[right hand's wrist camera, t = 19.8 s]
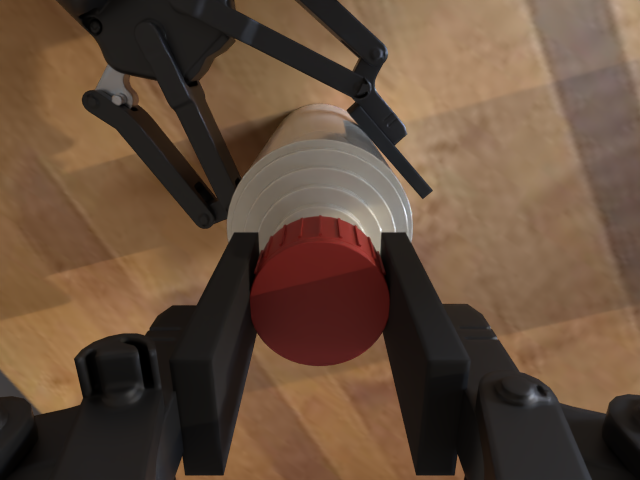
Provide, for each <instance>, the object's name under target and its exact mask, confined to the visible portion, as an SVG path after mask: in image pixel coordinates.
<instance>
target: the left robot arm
mask: <svg viewBox="0 0 640 480" xmlns="http://www.w3.org/2000/svg"><path fill="white" fill-rule="evenodd" d="M56 1H57V2H58V3H59V4H60V5H61V6H62V7H63V8H64V9H65V10H66V11H67V12H68V13H69V14H70V15H71V16H72V17H73V18H74V19H75V20H76V21H77V22H78V23H79V24H80V25H81V26H82V27H83V28H85V29H86V30H87V31H88V32H89V33H90V34H91V35H92V36H93V37H94V38H95V40H96V41H97V43H98V44H99V46H100V48H101V50H102V53H103V56H104V58H105V60H106V62H107V63H108V65H107V67H106V69H105V71H104V73H103V75H102V77H101V79H100V81H99V83H98V85H97V87H96V89H95V90H90V91H87V92H85V93H84V95H83V97H82V103H83V105H84V107H85V109H86V110H88V111H89V112H90V113H92V114H93V115H95V116H97V117H98V118H100V119H101V120H103V121H104V122H106V123H107V124H109V125H110V126H112V127H114V128H115V129H116V130H117V131H118V132H119V133H120V134H121V136H122V137H123V138H124V139H125V140H126V141H127V143H128V144H129V145H130V146H131V147H132V149H133V150H134V151H135V152H136V153H137V155H138V156H139V157H140V158H141V159H142V160H143V162H144V163H145V164H146V165H147V166H148V168H149V169H150V170H151V171H152V172H153V174H154V175H155V176H156V177H157V178H158V180H159V181H160V182H161V183H162V184H163V185H164V187H165V188H166V189H167V190H168V191H169V193H170V194H171V195H172V196H173V197H174V199H175V200H176V201H177V202H178V203H179V205H180V206H181V207H182V208H183V209H184V210H185V212H186V213H187V214H188V215H189V216H190V218H191V219H192V220H193V221H194V222H195V224H196V225H197V226H199V227H200V228H203V229H207V228H210V227H211V226H212V225H213V224H215V223H218V222H220V221H222V220H225V219H227V216H228V211H229V206H230V203H231V200H232V196H233V194H234V192H235V190H236V188H237V186H238V184H239V183H240V181H241V180H242V179H241V177H240V174H239V172H238V170H237V168H236V166H235V164H234V161H233V159H232V157H231V155H230V153H229V150H228V148H227V146H226V144H225V142H224V140H223V137H222V135H221V133H220V131H219V129H218V126H217V124H216V122H215V120H214V118H213V115H212V113H211V111H210V109H209V107H208V105H207V102H206V100H205V94H204V91H203V89H202V87H201V84H200V82H199V80H200V79H201V78H202V77H203V76H204V75H205V74H206V72H207V71H208V70H209V68H210V66H211V64H212V62H213V60H214V58H215V57H217V56H219V55H220V54H222V53H224V52H226V51H227V50H228V49H229V48H230V47H231V46H232V45H233V43H234V42H235V40H234V39H237V40H239V41H241V42H243V43H246V44H248V45H250V46H252V47H254V48H256V49H258V50H260V51H262V52H264V53H266V54H267V55H269V56H271V57H273V58H275V59H277V60H279V61H281V62H283V63H285V64H287V65H289V66H291V67H293V68H295V69H297V70H299V71H301V72H303V73H305V74H307V75H309V76H311V77H313V78H315V79H317V80H318V81H320V82H322V83H324V84H326V85H328V86H330V87H332V88H334V89H336V90H338V91H340V92H342V93H344V94H346V95H348V96H350V97H352V98H353V100H354V101H355V103H354V104H353V105H352V106H351V107H349V108H348V109H347V112H348V114H349V115H350V116H351V117H352V119H353V120H354V121H355V122H356V123H357V124H358V125H359V127H360V128H361V129H362V130H363V131H364V132H365V133H366V135H367V136H368V137H369V138H370V139H371V140H372V141H373V143H374V144H375V145H376V146H377V147H378V148H379V149H380V151H381V152H382V153H383V154H384V155H385V156H386V157H387V159H388V160H389V161H390V162H391V163H392V164H393V166H394V167H395V168H396V169H397V170H398V171H399V172H400V174H401V175H402V176H403V177H404V178H405V179H406V180H407V182H408V183H409V184H410V185H411V186H412V187H413V188H414V190H415V191H416V192H417V193H418V194H419V195H420V196H421V198H422V199H423V198H425V197H426V196H427V195H428V194H429V193H431V192H432V191H433V190H432V189H431V188H430V187H429V185H428V184H427V183H426V182H425V181H424V180H423V178H422V177H421V176H420V175H419V174H418V173H417V171H416V170H415V169H414V168H413V167H412V166H411V164H410V163H409V162H408V161H407V160H406V159H405V157H404V156H403V155H402V154H401V153H400V152H399V150H398V149H397V148H396V147H395V145H396V144H397V143H398V142H399V141H400V140H401V139H402V138H404V137H405V136H406V135H407V132H406V128H405V125H404V124H403V123H402V122H401V120H400V119H399V118H398V117H397V116H396V114H395V113H394V112H393V111H392V110H391V108H390V107H389V106H388V105H387V104H386V102H385V101H384V100H383V99H382V98H381V96H380V95H379V94H378V93H377V91H376V89H375V79H376V76H377V74H378V72H379V71H380V69H381V67H382V65H383V63H384V62H385V61H386V59H387V56H388V51H387V48H386V46H385V45H384V44H383V43H382V42H381V41H380V40H379V39H378V38H377V37H376V36H374V35H373V34H372V33H371V32H370V31H369V30H368V29H367V28H366V27H365V26H364V25H363V24H362V23H361V22H359V21H358V20H357V19H356V18H355V17H354V16H353V15H352V14H351V13H350V12H349V11H348V10H347V9H346V8H345V7H343V6H342V5H341V4H340V3H339V2H338V1H337V0H295V1H296V2H297V3H299V4H300V5H301V6H302V7H303V8H304V9H305V10H306V11H307V12H308V13H310V14H311V15H312V16H313V17H314V18H315V19H316V20H317V21H318V22H319V23H321V24H322V25H323V26H324V27H325V28H326V29H327V30H328V31H329V32H330V33H332V34H333V35H334V36H335V37H336V38H337V39H338V40H339V41H340V42H341V43H343V44H344V45H345V46H346V47H347V48H348V49H349V50H350V51H351V52H352V53H354V54H355V55H356V56H357V57H358V58H359V59H358V61H357V63H356V65H355V67H354V69H353V71H351V70H349V69H347V68H345V67H343V66H341V65H339V64H337V63H335V62H334V61H332V60H330V59H328V58H326V57H324V56H322V55H320V54H318V53H316V52H314V51H312V50H310V49H309V48H307V47H305V46H303V45H301V44H299V43H297V42H295V41H293V40H291V39H289V38H287V37H285V36H284V35H282V34H280V33H278V32H276V31H274V30H272V29H270V28H268V27H266V26H264V25H262V24H260V23H259V22H257V21H255V20H253V19H251V18H249V17H247V16H245V15H244V14H242V13H240V12H238V11H236V9H235V3H234V0H56ZM130 75H131V76H136V77H141V78H146V79H150V80H155V81H158V83H159V85H160V87H161V89H162V91H163V93H164V95H165V97H166V100H167V102H168V103H169V105H170V106H171V108H172V109H174V110H175V112H176V114H177V116H178V118H179V120H180V122H181V124H182V126H183V128H184V130H185V132H186V134H187V136H188V138H189V140H190V142H191V145H192V147H193V149H194V151H195V153H196V155H197V157H198V159H199V161H200V163H201V165H202V167H203V169H204V171H205V173H206V175H207V178H208V180H209V182H210V184H211V186H212V188H213V190H214V192H215V194H216V196H217V197H215V195H214V194H213V193H212V192H211V190H210V189H209V188H208V187H207V185H206V184H205V183H204V182H203V181H202V179H201V178H200V177H199V176H198V174H197V173H196V172H195V171H194V169H193V168H192V167H191V166H190V164H189V163H188V162H187V161H186V159H185V158H184V157H183V156H182V154H181V153H180V152H179V151H178V149H177V148H176V147H175V146H174V145H173V143H172V142H171V141H170V140H169V138H168V137H167V136H166V135H165V133H164V132H163V131H162V130H161V128H160V127H159V126H158V125H157V123H156V122H155V121H154V120H153V119H152V117H151V116H150V115H149V114H148V113H147V112H146V111H145V110H144V109H143V108H142V107H140V106H139V105H138V102H139V98H138V95H137V93H136V92H135V91H134V90H133V88H132V87H131V85H130V82H129V78H130Z"/></svg>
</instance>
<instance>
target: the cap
mask: <svg viewBox="0 0 640 480" xmlns="http://www.w3.org/2000/svg"><path fill="white" fill-rule="evenodd" d="M254 274H255V277H254V280H253V283H252V286H251V290H250V309H251V320H252V323H253V325H254V328H255V330H256V331H257V333H258V335H259V336H260V338H261V339H262V340H263V341H264V343H265V344H266V345H267V346H268V347H269V348H271V349H272V350H273V351H275V352H276V353H277V354H279V355H281V356H282V357H284V358H286V359H288V360H291V361H293V362H297V363H300V364H305V365H311V366H328V365H335V364H339V363H343V362H346V361H349V360H351V359H353V358H355V357H357V356H359V355H360V354H362V353H364V352H365V351H366V350H367V349H369V348H370V347H371V346H372V345H373V344H374V343H375V342H376V341H377V340H378V338H379V337H380V335H381V334H382V332H383V330H384V328H385V326H386V324H387V321H388V318H389V304H390V293H389V289H388V285H387V282H386V279H385V275H386V272H385V269H384V266H383V263H382V259H381V256H380V253H379V251H376V249H375V247H374V245H373V244H372V242H371V238H370V237H367V236H366V235H365V234H364V233H363V232H362V231H361V230H360V229H358V228H357V226H356V225H352V224H350V223H348V222H346V221H343V220H341V219H340V218H333V217H326V216H322V215H319V216H313V217H306V218H303V217H302V218H300V219H299V220H296V221H294V222H291V223H289V224H288V225H286V224H285V225H283V228H281V229H280V230H279V231H277V232H276V233H275V234H274V235H273V236H270V238H269V241H268V243H267V244H266V246H265V248H264V250H261V252H260V255H259V258H258V261H257V264H256V267H255V271H254Z"/></svg>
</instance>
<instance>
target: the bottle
mask: <svg viewBox="0 0 640 480" xmlns="http://www.w3.org/2000/svg"><path fill="white" fill-rule="evenodd" d="M319 215H322V216H326V217H333V218H340V219H341V220H343V221H346V222H348V223H350V224H352V225H356V226H357V228H358V229H360V230H361V231H362V232H363V233H364V234H365V235H366V236H367V237H370V238H371V242H372V244H373V245H374V247H375V249H376V251H379V253H380V247H381V232H406V234H407V236H408V238H409V240H410V242H411V241H412V232H413V221H412V212H411V208H410V204H409V201H408V198H407V195H406V193H405V191H404V189H403V187H402V185H401V183H400V182H399V180H398V179H397V177H396V176H395V174H394V173H393V171H392V170H391V168H390V167H389V165H388V164H387V162H386V161H385V159H384V158H383V157H382V155H381V154H380V152H379V151H378V149H377V148H376V146H375V145H374V143H373V142H372V140H371V139H370V138H369V137H368V136H367V135H366V133H365V132H364V131H363V130H362V129H361V128H360V127H359V125H358V124H357V123H356V122H355V121H354V120H353V119H352V117H351V116H350V115H349V114H348V112H347V111H345V110H343V109H341V108H339V107H336V106H333V105H329V104H312V105H307V106H304V107H301V108H299V109H297V110H295V111H293V112H292V113H290V114H289V115H288V116H287V117H285V118H284V119H283V121H282V122H281V123H280V124H279V126H278V127H277V129H276V130H275V132H274V133H273V134H272V136H271V137H270V139H269V140H268V142H267V143H266V145H265V146H264V148H263V149H262V150H261V152H260V153H259V155H258V156H257V158H256V159H255V161H254V162H253V164H252V165H251V167H250V168H249V169H248V171H247V172H246V174H245V175H244V177H243V178H242V180H241V181H240V183H239V184H238V186H237V188H236V190H235V192H234V194H233V196H232V200H231V203H230V206H229V211H228V216H227V237H228V243H229V241H230V239H231V237H232V235H233V233H234V232H258V233H259V253H260V252H261V250H264V248H265V246H266V244H267V243H268V241H269V238H270V236H273V235H274V234H275V233H276V232H277V231H279V230H280V229H281V228H283V225H285V224H286V225H288V224H289V223H291V222H294V221H296V220H299V219H300V218H302V217H303V218H306V217H313V216H319Z"/></svg>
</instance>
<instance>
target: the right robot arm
mask: <svg viewBox="0 0 640 480" xmlns="http://www.w3.org/2000/svg"><path fill="white" fill-rule="evenodd" d="M259 255H260V253H259V233H258V232H234V233H233V235H232V237H231V239H230V241H229V243H228V245H227V247H226V249H225V251H224V253H223V255H222V257H221V259H220V261H219V263H218V265H217V267H216V269H215V271H214V273H213V275H212V276H211V278H210V280H209V282H208V284H207V286H206V288H205V290H204V292H203V294H202V296H201V298H200V300H199V302H198V304H197V305H173V306H171V307H170V308H168V309H167V310H165V311H164V312H163V313H161V314H160V315H158V316H157V318H156V319H155V321H154V322H153V324H152V325H151V327H150V330H149V331H148V332H147V333H146V335H145V336H144V335H141V334H118V335H113V336H108V337H106V338H103V339H100V340H98V341H95V342H93V343H91V344H90V345H88V346H87V347H85V348H84V349H82V350H81V351H80V352H79V354H78V355H77V356H76V357H75V358H74V361H75V365H76V369H77V374H78V378H79V382H80V386H81V391H82V395H83V400H82V402H81V405H78V406H75V407H71V408H68V409H63V410H59V411H54V412H50V413H45V414H40V415H36V416H34V415H33V411H32V408H31V405H30V404H29V403H28V402H27V401H26V400H25V399H23V398H18V397H13V396H10V397H0V480H176V477H175V475H176V472H177V469H178V466H179V464H180V461H181V458H182V456H183V463H184V470H185V475H224V471H225V467H226V463H227V458H228V454H229V450H230V445H231V441H232V437H233V433H234V428H235V424H236V420H237V416H238V411H239V407H240V403H241V399H242V394H243V390H244V386H245V381H246V377H247V373H248V369H249V364H250V360H251V356H252V352H253V347H254V343H255V339H256V334H257V331H256V330H255V328H254V325H253V323H252V320H251V309H250V290H251V286H252V283H253V280H254V277H255V274H254V271H255V267H256V264H257V261H258V258H259ZM380 256H381V259H382V263H383V266H384V269H385V272H386V275H385V279H386V282H387V285H388V289H389V293H390V304H389V318H388V321H387V324H386V326H385V328H384V330H383V336H384V340H385V344H386V349H387V353H388V357H389V361H390V366H391V370H392V374H393V378H394V383H395V387H396V391H397V396H398V400H399V404H400V408H401V413H402V417H403V421H404V425H405V430H406V434H407V438H408V442H409V447H410V451H411V455H412V460H413V464H414V468H415V472H416V475H455V468H456V461H457V454H458V456H459V459H460V462H461V465H462V468H463V471H464V473H465V477H464V480H640V395H631V394H627V395H622V396H617V397H615V398H614V399H613V400H612V401H611V402H610V403H609V406H608V410H607V413H606V414H604V413H600V412H595V411H590V410H586V409H581V408H576V407H572V406H568V405H565V404H561V403H559V401H558V399H557V397H556V396H555V394H554V393H553V392H552V390H551V389H550V388H549V387H548V386H547V385H545V384H544V383H543V382H541V381H540V380H539V379H536V378H534V377H532V376H530V375H527V374H525V373H521V372H519V370H518V369H517V367H516V365H515V364H514V362H513V361H512V359H511V358H510V356H509V355H508V353H507V352H506V350H505V349H504V347H503V345H502V344H501V342H500V341H499V340H497V336H496V335H495V333H494V332H493V330H492V329H490V325H489V324H488V322H487V321H486V319H485V318H484V316H483V315H482V314H481V313H479V312H478V311H477V310H475V309H474V308H472V307H471V306H469V305H468V304H442V303H441V301H440V299H439V297H438V295H437V293H436V291H435V289H434V287H433V285H432V283H431V281H430V279H429V277H428V275H427V273H426V271H425V269H424V267H423V265H422V263H421V261H420V259H419V258H418V256H417V254H416V252H415V250H414V248H413V246H412V244H411V242H410V240H409V238H408V236H407V234H406V232H381V247H380Z"/></svg>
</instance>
